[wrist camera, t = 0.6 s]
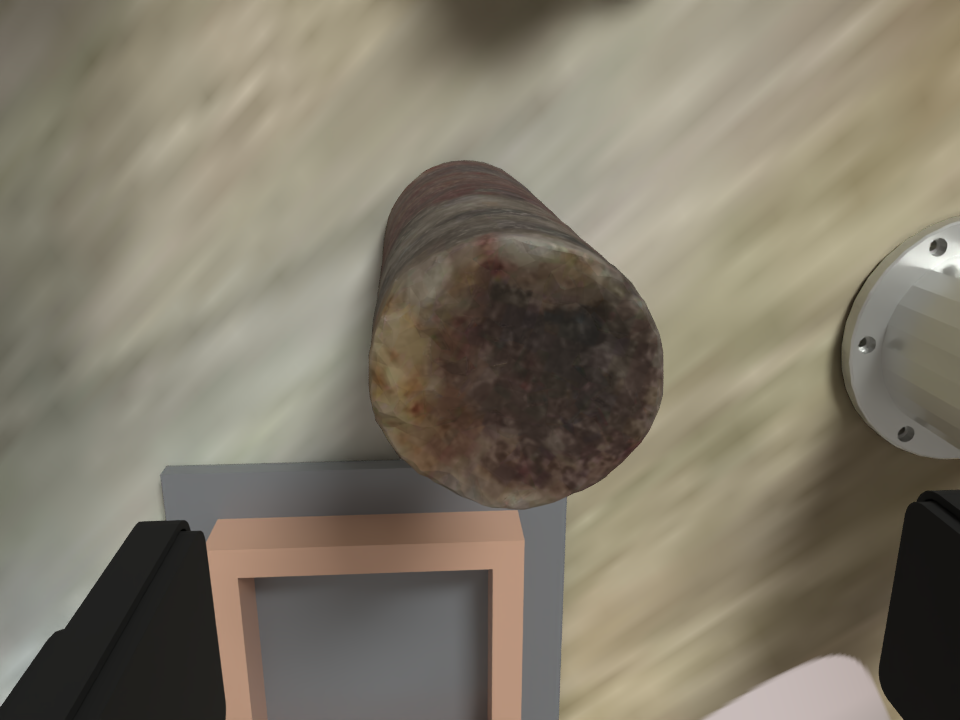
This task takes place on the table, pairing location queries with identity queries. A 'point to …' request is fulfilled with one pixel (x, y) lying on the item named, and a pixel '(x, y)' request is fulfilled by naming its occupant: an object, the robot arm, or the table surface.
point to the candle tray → (375, 593)
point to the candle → (506, 344)
